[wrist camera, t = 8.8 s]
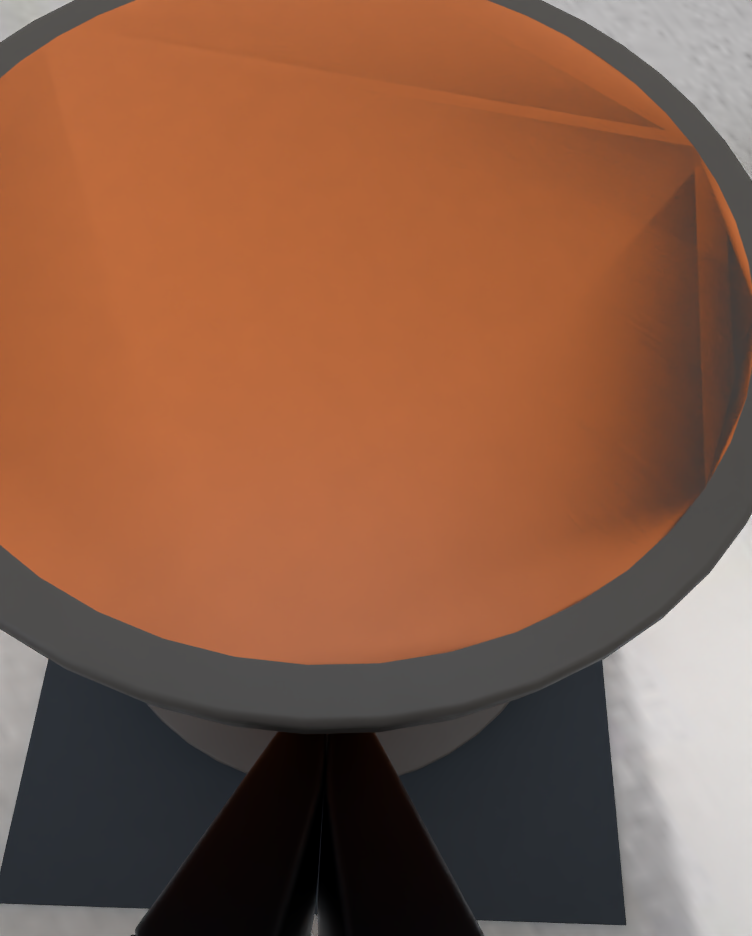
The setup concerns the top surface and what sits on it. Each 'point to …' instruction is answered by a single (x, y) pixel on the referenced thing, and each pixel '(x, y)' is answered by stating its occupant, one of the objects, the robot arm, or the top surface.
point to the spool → (358, 358)
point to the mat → (430, 789)
